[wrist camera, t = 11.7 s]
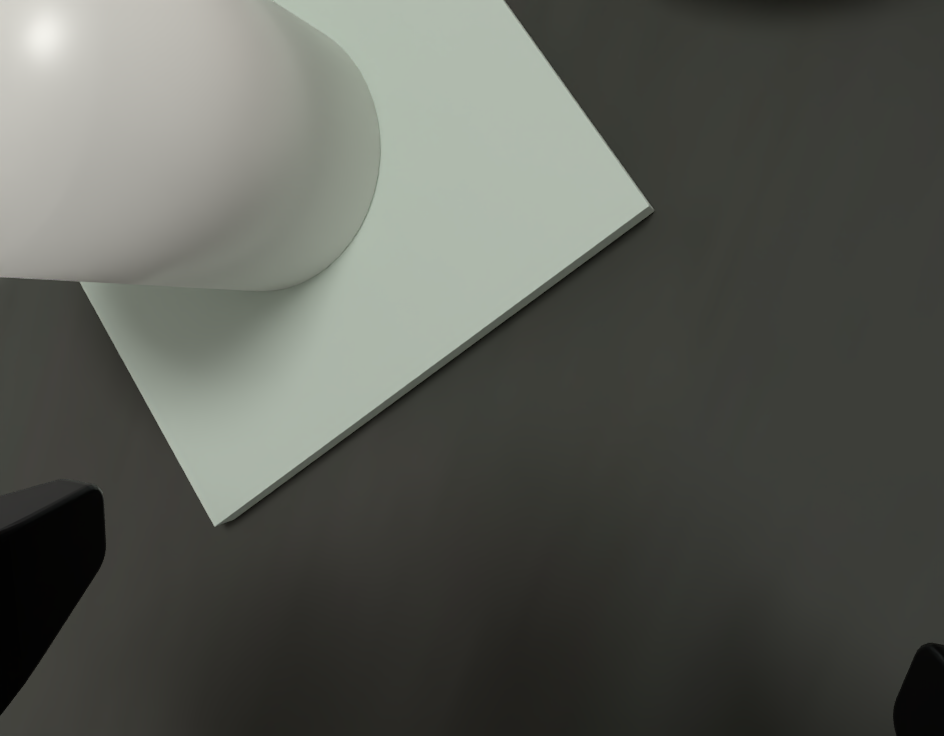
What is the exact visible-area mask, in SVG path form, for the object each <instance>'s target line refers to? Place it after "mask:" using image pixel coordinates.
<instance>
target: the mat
mask: <svg viewBox="0 0 944 736" xmlns="http://www.w3.org/2000/svg"><path fill="white" fill-rule="evenodd" d="M272 1H274V2H275V3H277V4H278V5H280V6H282V7H283V8H285V9H286V10H288V11H289V12H291V13H293V14H294V15H296V16H297V17H299V18H301V19H302V20H304V21H305V22H307V23H308V24H310V25H312V26H313V27H315V28H316V29H318V30H319V31H321V32H323V33H324V34H325V35H327V36H328V37H330V38H331V39H332V40H334V41H335V42H336V43H337V44H338V45H339V46H340V47H341V48H342V49H343V50H344V51H345V52H346V53H347V54H348V55H349V56H350V58H351V59H352V60H353V62H354V63H355V64H356V66H357V67H358V69H359V70H360V72H361V74H362V76H363V78H364V80H365V81H366V83H367V86H368V88H369V91H370V94H371V96H372V99H373V102H374V106H375V110H376V114H377V118H378V126H379V134H380V160H379V170H378V177H377V181H376V186H375V190H374V194H373V197H372V200H371V203H370V206H369V209H368V212H367V214H366V216H365V218H364V220H363V222H362V224H361V226H360V228H359V230H358V231H357V233H356V234H355V236H354V238H353V239H352V241H351V242H350V244H349V245H348V246H347V247H346V248H345V250H344V251H343V252H342V253H341V255H340V256H339V257H338V258H337V259H336V260H334V261H333V262H332V263H331V264H330V265H329V266H328V267H327V268H326V269H324V270H323V271H321V272H320V273H319V274H317V275H316V276H314V277H312V278H311V279H309V280H307V281H305V282H303V283H301V284H298V285H295V286H292V287H289V288H286V289H281V290H275V291H243V290H225V289H207V288H189V287H171V286H153V285H135V284H117V283H99V282H81V281H79V282H80V284H81V285H82V287H83V289H84V291H85V293H86V294H87V296H88V298H89V300H90V302H91V304H92V305H93V307H94V309H95V311H96V313H97V314H98V316H99V318H100V320H101V322H102V323H103V325H104V327H105V329H106V331H107V333H108V334H109V336H110V338H111V340H112V342H113V343H114V345H115V347H116V349H117V351H118V352H119V354H120V356H121V358H122V360H123V362H124V363H125V365H126V367H127V369H128V371H129V372H130V374H131V376H132V378H133V380H134V381H135V383H136V385H137V387H138V389H139V391H140V392H141V394H142V396H143V398H144V400H145V401H146V403H147V405H148V407H149V409H150V411H151V412H152V414H153V416H154V418H155V420H156V421H157V423H158V425H159V427H160V429H161V430H162V432H163V434H164V436H165V438H166V440H167V441H168V443H169V445H170V447H171V449H172V450H173V452H174V454H175V456H176V458H177V459H178V461H179V463H180V465H181V467H182V469H183V470H184V472H185V474H186V476H187V478H188V479H189V481H190V483H191V485H192V487H193V488H194V490H195V492H196V494H197V496H198V498H199V499H200V501H201V503H202V505H203V507H204V508H205V510H206V512H207V514H208V516H209V518H210V519H211V521H212V523H213V525H214V527H215V526H218V525H221V524H223V523H226V522H229V521H232V520H234V519H235V518H237V517H238V516H240V515H241V514H242V513H244V512H245V511H246V510H248V509H249V508H250V507H252V506H253V505H255V504H256V503H257V502H259V501H260V500H261V499H263V498H264V497H265V496H267V495H268V494H270V493H271V492H272V491H274V490H275V489H276V488H278V487H279V486H280V485H282V484H283V483H285V482H286V481H287V480H289V479H290V478H291V477H293V476H294V475H295V474H297V473H298V472H300V471H301V470H302V469H304V468H305V467H306V466H308V465H309V464H310V463H312V462H313V461H315V460H316V459H317V458H319V457H320V456H321V455H323V454H324V453H325V452H327V451H328V450H330V449H331V448H332V447H334V446H335V445H336V444H338V443H339V442H340V441H342V440H343V439H344V438H346V437H347V436H349V435H350V434H351V433H353V432H354V431H355V430H357V429H358V428H359V427H361V426H362V425H364V424H365V423H366V422H368V421H369V420H370V419H372V418H373V417H374V416H376V415H377V414H379V413H380V412H381V411H383V410H384V409H385V408H387V407H388V406H389V405H391V404H392V403H394V402H395V401H396V400H398V399H399V398H400V397H402V396H403V395H404V394H406V393H407V392H409V391H410V390H411V389H413V388H414V387H415V386H417V385H418V384H419V383H421V382H422V381H424V380H425V379H426V378H428V377H429V376H430V375H432V374H433V373H434V372H436V371H437V370H439V369H440V368H441V367H443V366H444V365H445V364H447V363H448V362H449V361H451V360H452V359H454V358H455V357H456V356H458V355H459V354H460V353H462V352H463V351H464V350H466V349H467V348H469V347H470V346H471V345H473V344H474V343H475V342H477V341H478V340H479V339H481V338H482V337H484V336H485V335H486V334H488V333H489V332H490V331H492V330H493V329H494V328H496V327H497V326H499V325H500V324H501V323H503V322H504V321H505V320H507V319H508V318H509V317H511V316H512V315H514V314H515V313H516V312H518V311H519V310H520V309H522V308H523V307H524V306H526V305H527V304H529V303H530V302H531V301H533V300H534V299H535V298H537V297H538V296H539V295H541V294H542V293H544V292H545V291H546V290H548V289H549V288H550V287H552V286H553V285H554V284H556V283H557V282H558V281H560V280H561V279H563V278H564V277H565V276H567V275H568V274H569V273H571V272H572V271H573V270H575V269H576V268H578V267H579V266H580V265H582V264H583V263H584V262H586V261H587V260H588V259H590V258H591V257H593V256H594V255H595V254H597V253H598V252H599V251H601V250H602V249H603V248H605V247H606V246H608V245H609V244H610V243H612V242H613V241H614V240H616V239H617V238H618V237H620V236H621V235H623V234H624V233H625V232H627V231H628V230H629V229H631V228H632V227H633V226H635V225H636V224H638V223H639V222H640V221H642V220H643V219H644V218H646V217H647V216H648V215H650V214H651V213H653V212H654V209H653V208H652V206H651V205H650V204H649V202H648V201H647V199H646V198H645V197H644V195H643V194H642V192H641V191H640V190H639V188H638V187H637V185H636V184H635V183H634V181H633V180H632V178H631V177H630V176H629V174H628V173H627V171H626V170H625V169H624V167H623V166H622V164H621V163H620V162H619V160H618V159H617V157H616V156H615V155H614V153H613V152H612V150H611V149H610V148H609V146H608V145H607V143H606V142H605V141H604V139H603V138H602V136H601V135H600V134H599V132H598V131H597V129H596V128H595V127H594V125H593V124H592V122H591V121H590V120H589V118H588V117H587V115H586V114H585V113H584V111H583V110H582V108H581V107H580V106H579V104H578V103H577V101H576V100H575V99H574V97H573V96H572V94H571V93H570V91H569V90H568V89H567V87H566V86H565V84H564V83H563V82H562V80H561V79H560V77H559V76H558V75H557V73H556V72H555V70H554V69H553V68H552V66H551V65H550V63H549V62H548V61H547V59H546V58H545V56H544V55H543V54H542V52H541V51H540V49H539V48H538V47H537V45H536V44H535V42H534V41H533V40H532V38H531V37H530V35H529V34H528V33H527V31H526V30H525V28H524V27H523V26H522V24H521V23H520V21H519V20H518V19H517V17H516V16H515V14H514V13H513V12H512V10H511V9H510V7H509V6H508V5H507V3H506V2H505V0H272Z"/></svg>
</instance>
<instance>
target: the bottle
mask: <svg viewBox="0 0 944 736" xmlns="http://www.w3.org/2000/svg"><path fill="white" fill-rule="evenodd" d="M379 160H380V134H379V126H378V118H377V114H376V110H375V106H374V102H373V99H372V96H371V94H370V91H369V88H368V86H367V83H366V81H365V80H364V78H363V76H362V74H361V72H360V70H359V69H358V67H357V66H356V64H355V63H354V62H353V60H352V59H351V58H350V56H349V55H348V54H347V53H346V52H345V51H344V50H343V49H342V48H341V47H340V46H339V45H338V44H337V43H336V42H335V41H334V40H332V39H331V38H330V37H328V36H327V35H325V34H324V33H323V32H321V31H319V30H318V29H316V28H315V27H313V26H312V25H310V24H308V23H307V22H305V21H304V20H302V19H301V18H299V17H297V16H296V15H294V14H293V13H291V12H289V11H288V10H286V9H285V8H283V7H282V6H280V5H278V4H277V3H275V2H274V1H272V0H0V277H8V278H26V279H44V280H62V281H81V282H99V283H117V284H135V285H153V286H171V287H189V288H207V289H225V290H243V291H275V290H281V289H286V288H289V287H292V286H295V285H298V284H301V283H303V282H305V281H307V280H309V279H311V278H312V277H314V276H316V275H317V274H319V273H320V272H321V271H323V270H324V269H326V268H327V267H328V266H329V265H330V264H331V263H332V262H333V261H334V260H336V259H337V258H338V257H339V256H340V255H341V253H342V252H343V251H344V250H345V248H346V247H347V246H348V245H349V244H350V242H351V241H352V239H353V238H354V236H355V234H356V233H357V231H358V230H359V228H360V226H361V224H362V222H363V220H364V218H365V216H366V214H367V212H368V209H369V206H370V203H371V200H372V197H373V194H374V190H375V186H376V181H377V177H378V170H379Z"/></svg>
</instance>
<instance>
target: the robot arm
mask: <svg viewBox="0 0 944 736" xmlns="http://www.w3.org/2000/svg"><path fill="white" fill-rule="evenodd" d="M105 551H106V535H105V514H104V498H103V493H102V491H101V489H100V488H99V487H98V486H97V485H95V484H90V483H85V482H80V481H75V480H69V479H60V480H56V481H52V482H49V483H45V484H41V485H38V486H34V487H31V488H27V489H23V490H20V491H16V492H13V493H9V494H6V495H2V496H0V715H1V714H2V713H3V711H4V710H5V709H6V708H7V706H8V705H9V704H10V703H11V701H12V700H13V699H14V697H15V696H16V695H17V693H18V692H19V691H20V689H21V688H22V687H23V685H24V684H25V683H26V681H27V680H28V678H29V677H30V675H31V674H32V672H33V671H34V670H35V668H36V667H37V665H38V664H39V662H40V661H41V659H42V657H43V656H44V654H45V653H46V651H47V650H48V648H49V647H50V645H51V644H52V642H53V640H54V639H55V637H56V636H57V634H58V633H59V631H60V630H61V628H62V626H63V625H64V623H65V622H66V620H67V619H68V617H69V616H70V614H71V613H72V611H73V609H74V608H75V606H76V605H77V603H78V602H79V600H80V599H81V597H82V595H83V594H84V592H85V591H86V589H87V588H88V586H89V585H90V583H91V582H92V580H93V578H94V577H95V575H96V574H97V572H98V571H99V569H100V567H101V565H102V562H103V560H104V556H105ZM893 720H894V727H895V732H896V736H944V645H941V644H936V643H927V644H924V645H922V646H921V647H920V648H919V649H918V650H917V652H916V654H915V656H914V658H913V661H912V663H911V665H910V668H909V670H908V672H907V675H906V677H905V680H904V682H903V684H902V687H901V689H900V691H899V694H898V696H897V698H896V701H895V705H894V711H893Z"/></svg>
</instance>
